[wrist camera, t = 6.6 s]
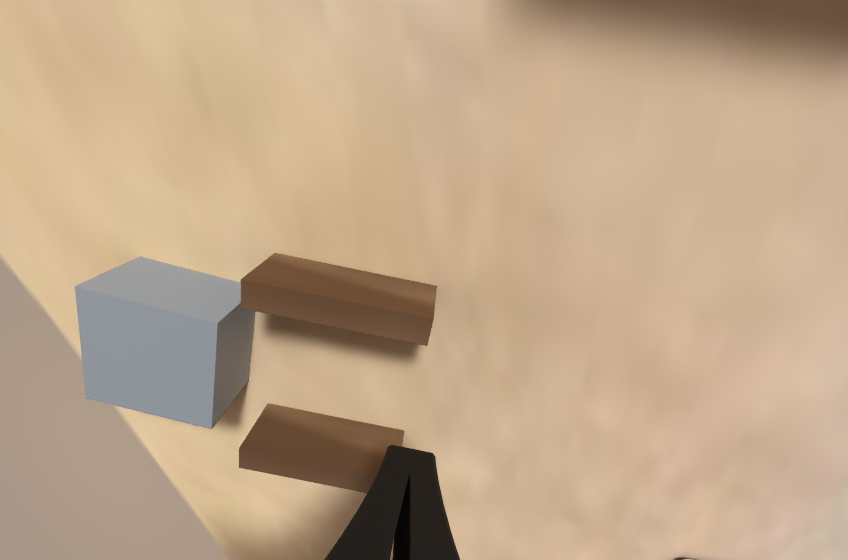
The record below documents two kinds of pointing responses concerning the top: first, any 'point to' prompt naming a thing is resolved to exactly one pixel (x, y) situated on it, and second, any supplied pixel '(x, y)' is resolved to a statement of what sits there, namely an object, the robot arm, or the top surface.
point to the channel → (342, 308)
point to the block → (164, 340)
